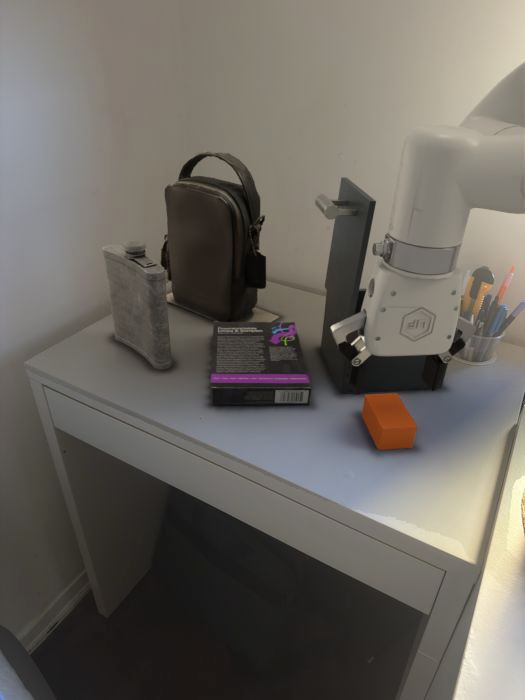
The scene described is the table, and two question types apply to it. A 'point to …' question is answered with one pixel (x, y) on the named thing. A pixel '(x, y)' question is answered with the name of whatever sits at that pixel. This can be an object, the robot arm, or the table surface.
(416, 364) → the bin
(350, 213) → the bin lid
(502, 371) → the table surface
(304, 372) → the box
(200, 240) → the shoulder bag
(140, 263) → the flask
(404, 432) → the orange rectangular block
